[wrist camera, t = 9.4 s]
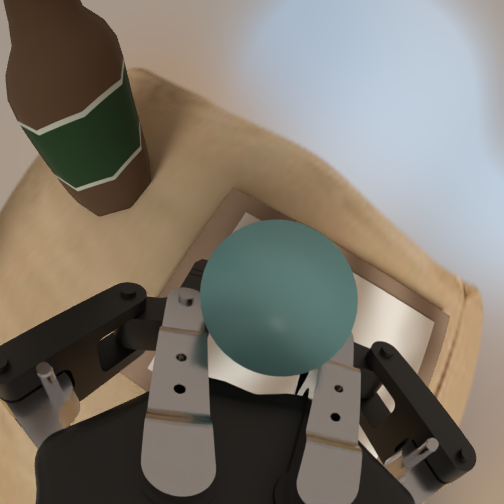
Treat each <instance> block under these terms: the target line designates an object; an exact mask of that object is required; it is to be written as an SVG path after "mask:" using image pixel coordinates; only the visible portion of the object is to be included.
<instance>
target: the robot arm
mask: <svg viewBox="0 0 504 504" xmlns="http://www.w3.org/2000/svg"><path fill="white" fill-rule="evenodd" d="M208 261H209V260H205V259H201V260H199V261H197V262H195V263H194V265H193V267H192V269H191V270H190V272H189V274H188V275H187V277H186V278H185V280H184V282H183V283H182V285H181V287H180V288H176V289H173V290H171V291H170V292H169V294H168V297H164V298H156V297H147V293H146V290H145V289H144V288H143V287H142V286H140V285H138V284H135V283H130V282H125V283H120V284H117V285H115V286H113V287H111V288H109V289H107V290H105V291H103V292H101V293H99V294H97V295H95V296H93V297H91V298H89V299H87V300H85V301H83V302H81V303H79V304H77V305H75V306H73V307H71V308H70V309H68V310H66V311H64V312H62V313H60V314H58V315H56V316H54V317H52V318H50V319H49V320H47V321H45V322H43V323H41V324H39V325H37V326H35V327H34V328H32V329H30V330H28V331H26V332H24V333H23V334H21V335H19V336H17V337H15V338H13V339H12V340H10V341H8V342H6V343H4V344H3V345H1V346H0V401H1V402H2V404H3V405H4V406H5V408H6V409H7V411H8V412H9V413H10V414H11V415H12V416H13V417H14V418H15V420H16V421H17V422H18V423H19V425H20V426H21V427H22V428H23V429H24V431H25V432H26V434H27V435H28V436H29V438H30V439H31V440H32V442H33V443H34V444H35V446H36V447H37V448H38V451H37V454H36V457H35V476H36V487H37V492H36V504H422V503H423V502H424V501H426V500H427V499H428V498H429V497H431V496H432V495H433V494H434V493H435V492H437V491H439V490H440V489H442V488H444V487H445V486H447V485H449V484H450V483H452V482H453V481H455V480H456V479H458V478H460V477H461V476H462V475H464V474H465V473H467V472H468V471H470V470H471V469H472V468H473V467H474V465H475V463H476V454H475V450H474V448H473V447H472V445H471V444H470V443H469V441H468V440H467V439H466V437H465V436H464V434H463V433H462V432H461V430H460V429H459V427H458V426H457V425H456V423H455V422H454V421H453V419H452V418H451V417H450V415H449V414H448V413H447V411H446V410H445V409H444V408H443V406H442V405H441V404H440V402H439V401H438V400H437V398H436V397H435V396H434V395H433V393H432V392H431V391H430V390H429V388H428V387H427V386H426V385H425V383H424V382H423V381H422V380H421V378H420V377H419V376H418V375H417V373H416V372H415V371H414V370H413V368H412V367H411V366H410V365H409V363H408V362H407V361H406V360H405V359H404V357H403V356H402V355H401V354H400V353H399V351H398V350H397V349H396V348H395V347H394V346H392V345H391V344H389V343H387V342H383V341H377V342H374V343H373V344H372V346H371V348H367V347H365V346H362V345H360V344H358V343H356V342H354V337H353V334H352V332H351V333H350V335H349V337H348V339H347V341H346V342H345V344H344V345H343V346H342V348H341V349H340V350H339V351H338V352H337V353H336V354H335V356H333V357H332V358H331V359H330V360H329V361H327V362H326V363H324V364H323V365H321V366H320V367H318V368H316V369H314V370H311V371H309V372H306V373H303V374H299V375H297V379H296V383H295V387H294V390H293V394H288V393H284V394H254V393H251V392H249V391H246V390H244V389H242V388H239V387H237V386H235V385H232V384H230V383H228V382H226V381H222V380H218V379H214V378H210V377H208V341H207V339H208V336H209V331H208V329H207V327H206V325H205V322H204V318H203V315H202V310H201V305H200V288H201V281H202V276H203V272H204V270H205V267H206V265H207V262H208ZM112 331H114V332H113V333H111V332H112ZM109 333H111V334H110V335H108V334H109ZM106 335H108V336H107V337H105V338H104V339H102V338H103V337H104V336H106ZM101 339H102V340H101ZM145 351H156V352H155V358H154V365H153V371H152V378H151V385H150V391H148V392H146V393H144V394H142V395H140V396H138V397H136V398H134V399H131V400H129V401H127V402H125V403H123V404H121V405H118V406H116V407H114V408H112V409H110V410H107V411H105V412H103V413H100V414H98V415H96V416H93V417H91V418H89V419H86V420H84V421H81V422H79V423H77V424H74V425H72V426H70V424H71V423H73V422H74V420H75V418H76V417H77V415H78V414H79V411H80V401H81V400H83V399H84V398H85V397H87V396H88V395H89V394H91V393H92V392H93V391H95V390H96V389H97V388H99V387H100V386H101V385H103V384H104V383H105V382H107V381H108V380H109V379H111V378H112V377H113V376H115V375H116V374H117V373H119V372H120V371H121V370H123V369H124V368H125V367H127V366H128V365H129V364H131V363H132V362H133V361H135V360H136V359H137V358H138V357H140V356H141V355H142V354H143V353H144V352H145ZM382 385H384V387H385V388H386V390H387V391H388V392H389V394H390V395H391V397H392V398H393V400H394V402H395V408H394V410H393V411H392V413H391V412H390V411H389V409H388V408H387V406H386V405H385V403H384V402H383V400H382V399H381V398H380V396H379V395H378V393H377V391H378V390H379V389H380V388H381V386H382ZM359 425H360V426H361V428H362V430H363V431H364V433H365V435H366V436H367V438H368V440H369V441H370V443H371V445H372V446H373V448H374V450H375V452H376V453H377V455H378V457H379V458H380V460H381V462H382V463H383V465H384V466H383V465H382V464H381V463H380V462H379V461H378V460H377V459H376V458H375V457H374V456H373V455H372V454H371V453H370V452H369V451H368V450H367V449H366V447H365V446H364V445H363V444H362V443H361V442H360V441H359V440H358V434H359Z"/></svg>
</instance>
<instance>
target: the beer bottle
mask: <svg viewBox="0 0 504 504" xmlns="http://www.w3.org/2000/svg"><path fill="white" fill-rule="evenodd" d="M4 4H5V10H6V14H7V18H8V22H9V30H10V37H11V44H12V47H11V52H10V56H9V61H8V66H7V71H6V87H7V98H8V102H9V104H10V106H11V108H12V110H13V112H14V114H15V117H16V119H17V121H18V122H19V124H20V125H21V127H22V129H23V130H24V132H25V133H26V134H27V136H28V138H29V139H30V141H31V142H32V144H33V145H34V147H35V148H36V149H37V151H38V152H39V154H40V155H41V157H42V158H43V159H44V161H45V162H46V163H47V165H48V166H49V168H50V169H51V170H52V172H53V173H54V174H55V176H56V177H57V178H58V180H59V181H60V182H61V183H62V185H63V186H64V187H65V189H66V190H67V191H68V192H69V194H70V195H71V196H72V197H73V198H74V199H75V200H76V201H77V202H78V203H80V204H81V205H83V206H84V207H85V208H87V209H88V210H90V211H91V212H93V213H94V214H96V215H97V216H103V215H107V214H110V213H113V212H117V211H120V210H124V209H128V208H130V207H131V206H132V205H133V204H134V202H135V201H136V200H137V198H138V197H139V196H140V195H141V193H142V192H143V191H144V190H145V188H146V187H147V186H148V185H149V184H150V182H151V177H150V168H149V159H148V152H147V148H146V143H145V139H144V136H143V132H142V129H141V125H140V122H139V118H138V115H137V111H136V107H135V103H134V99H133V96H132V92H131V88H130V84H129V79H128V75H127V71H126V67H125V62H124V58H123V54H122V51H121V48H120V45H119V42H118V39H117V36H116V34H115V33H114V32H113V30H112V29H111V28H110V27H109V25H108V24H107V23H106V21H105V20H104V19H103V18H101V17H100V16H98V15H97V14H95V13H93V12H92V11H90V10H89V9H87V8H85V7H84V6H83V5H82V3H81V1H80V0H4Z"/></svg>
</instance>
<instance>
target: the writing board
mask: <svg viewBox="0 0 504 504" xmlns="http://www.w3.org/2000/svg"><path fill="white" fill-rule="evenodd" d="M264 220H289V221H294V220H292V219H290V218H288V217H287V216H285V215H283V214H281V213H279V212H278V211H276V210H274V209H272V208H270V207H268V206H266V205H265V204H263V203H261V202H259V201H257V200H255V199H253V198H251V197H249V196H248V195H246V194H244V193H242V192H240V191H238V190H236V189H234V188H232V190H231V191H230V193H229V194H228V195H227V197H226V198H225V199H224V201H223V202H222V204H221V205H220V206H219V208H218V209H217V210H216V212H215V213H214V215H213V216H212V218H211V219H210V220H209V222H208V223H207V225H206V226H205V227H204V229H203V230H202V232H201V233H200V235H199V236H198V238H197V239H196V240H195V242H194V243H193V245H192V246H191V248H190V249H189V251H188V252H187V254H186V255H185V257H184V258H183V260H182V261H181V263H180V264H179V266H178V267H177V269H176V270H175V272H174V273H173V275H172V276H171V278H170V279H169V281H168V282H167V284H166V285H165V287H164V288H163V290H162V292H161V293H160V295H159V296H158V298H164V297H168V294H169V292H170V291H171V290H173V289H176V288H180V287H181V285H182V283H183V282H184V280H185V278H186V277H187V275H188V274H189V272H190V270H191V269H192V267H193V265H194V263H195V262H197V261H199V260H201V259H205V260H209V259H210V257H211V255H212V253H213V252H214V251H215V249H216V248H217V247H218V246H219V245H220V243H221V242H222V241H223V240H224V239H225V238H227V237H228V236H229V235H231V234H232V233H233V232H235V231H237V230H238V229H240V228H242V227H244V226H247V225H249V224H252V223H255V222H259V221H264ZM294 222H296V221H294ZM335 245H336V244H335ZM336 246H337V247H338V248H339V250H340V251H341V252H342V254H343V255H344V256H345V258H346V260H347V262H348V263H349V265H350V267H351V270H352V272H353V275H354V278H355V282H356V287H357V294H358V306H357V314H356V319H355V323H354V326H353V328H352V331H351V332H352V334H353V337H354V342H356V343H358V344H360V345H362V346H365V347H367V348H371V346H372V344H373V343H374V342H377V341H383V342H387V343H389V344H391V345H392V346H394V347H395V348H396V349H397V350H398V351H399V353H400V354H401V355H402V356H403V357H404V359H405V360H406V361H407V362H408V363H409V365H410V366H411V367H412V368H413V370H414V371H415V372H416V373H417V375H418V376H419V377H420V378H421V380H422V381H423V382H424V383H425V385H426V386H427V387H428V386H429V383H430V380H431V378H432V375H433V372H434V369H435V366H436V363H437V360H438V357H439V354H440V351H441V348H442V344H443V341H444V337H445V334H446V330H447V326H448V322H449V318H450V316H449V315H447V314H446V313H444V312H443V311H441V310H440V309H438V308H437V307H435V306H434V305H432V304H431V303H429V302H428V301H426V300H425V299H423V298H422V297H420V296H419V295H417V294H416V293H414V292H413V291H411V290H410V289H408V288H406V287H405V286H403V285H402V284H400V283H399V282H397V281H395V280H394V279H392V278H391V277H389V276H387V275H386V274H384V273H383V272H381V271H379V270H378V269H376V268H375V267H373V266H371V265H370V264H368V263H366V262H365V261H363V260H361V259H360V258H358V257H356V256H355V255H353V254H351V253H350V252H348V251H346V250H345V249H343V248H341V247H340V246H338V245H336ZM207 341H208V377H210V378H214V379H218V380H222V381H226V382H228V383H230V384H232V385H235V386H237V387H239V388H242V389H244V390H246V391H249V392H251V393H254V394H284V393H288V394H293V390H294V387H295V383H296V379H297V375H294V376H287V377H275V376H268V375H263V374H259V373H256V372H253V371H251V370H248V369H246V368H244V367H242V366H241V365H239V364H237V363H236V362H234V361H233V360H232V359H231V358H229V357H228V356H227V355H226V354H225V353H224V352H223V351H222V350H221V349H220V348H219V347H218V346H217V344H216V343H215V341H214V340H213V338H212V337H211V335H210V333H209V336H208V339H207ZM155 352H156V351H145V352H144V353H143V354H142V355H141V356H140V357H138V358H137V359H136V360H135V361H133V362H132V363H131V364H129V365H128V366H127V367H125V368H124V369H123V370H121V371H120V373H122V374H123V375H124V376H126V377H127V378H128V379H130V380H131V381H133V382H134V383H135V384H137V385H138V386H140V387H141V388H143V389H144V390H146V391H147V392H148V391H150V385H151V378H152V371H153V365H154V358H155ZM377 393H378V395H379V396H380V398H381V399H382V400H383V402H384V403H385V405H386V406H387V408H388V409H389V411H390V412H391V413H392V411H393V410H394V408H395V402H394V400H393V398H392V397H391V395H390V394H389V392H388V391H387V390H386V388H385V387H384V385H382V386H381V388H380V389H379V390H378V391H377ZM358 440H359V441H360V442H361V443H362V444H363V445H364V446H365V447H366V449H367V450H368V451H369V452H370V453H371V454H372V455H373V456H374V457H375V458H376V459H377V460H378V461H379V462H380V463H381V464H382V465H383V463H382V462H381V460H380V458H379V457H378V455H377V453H376V452H375V450H374V448H373V446H372V445H371V443H370V441H369V440H368V438H367V436H366V435H365V433H364V431H363V430H362V428H361V426H360V425H359V434H358ZM383 466H384V465H383Z"/></svg>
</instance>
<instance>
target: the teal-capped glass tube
mask: <svg viewBox="0 0 504 504" xmlns="http://www.w3.org/2000/svg"><path fill="white" fill-rule="evenodd" d="M200 305H201V310H202V315H203V318H204V322H205V325H206V327H207V329H208V331H209V333H210V335H211V337H212V338H213V340H214V341H215V343H216V344H217V346H218V347H219V348H220V349H221V350H222V351H223V352H224V353H225V354H226V355H227V356H228V357H229V358H231V359H232V360H233V361H234V362H236V363H237V364H239V365H241V366H242V367H244V368H246V369H248V370H251V371H253V372H256V373H259V374H263V375H268V376H275V377H287V376H294V375H299V374H303V373H306V372H309V371H311V370H314V369H316V368H318V367H320V366H321V365H323V364H324V363H326V362H327V361H329V360H330V359H331V358H332V357H333V356H335V354H336V353H337V352H338V351H339V350H340V349H341V348H342V346H343V345H344V344H345V342H346V341H347V339H348V337H349V335H350V333H351V331H352V328H353V326H354V323H355V319H356V314H357V306H358V294H357V287H356V282H355V278H354V275H353V272H352V270H351V267H350V265H349V263H348V262H347V260H346V258H345V256H344V255H343V254H342V252H341V251H340V250H339V248H338V247H337V246H336V245H335V244H334V243H333V242H332V241H331V240H329V239H328V238H327V237H326V236H325V235H323V234H322V233H320V232H319V231H317V230H315V229H313V228H311V227H309V226H307V225H304V224H301V223H298V222H294V221H289V220H264V221H259V222H255V223H252V224H249V225H247V226H244V227H242V228H240V229H238V230H237V231H235V232H233V233H232V234H231V235H229V236H228V237H227V238H225V239H224V240H223V241H222V242H221V243H220V245H219V246H218V247H217V248H216V249H215V251H214V252H213V253H212V255H211V257H210V259H209V261H208V262H207V265H206V267H205V270H204V272H203V276H202V281H201V288H200Z"/></svg>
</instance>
